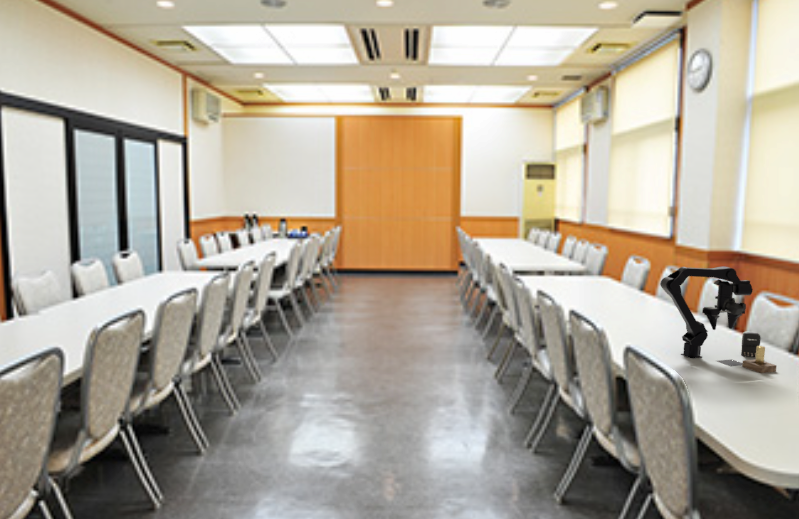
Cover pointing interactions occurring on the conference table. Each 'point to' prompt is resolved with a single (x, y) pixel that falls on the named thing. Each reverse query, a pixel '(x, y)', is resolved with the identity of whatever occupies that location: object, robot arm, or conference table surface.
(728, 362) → the mat
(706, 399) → the conference table surface
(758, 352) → the pin
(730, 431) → the conference table surface
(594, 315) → the conference table surface
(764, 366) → the pin block
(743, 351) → the battery charger
